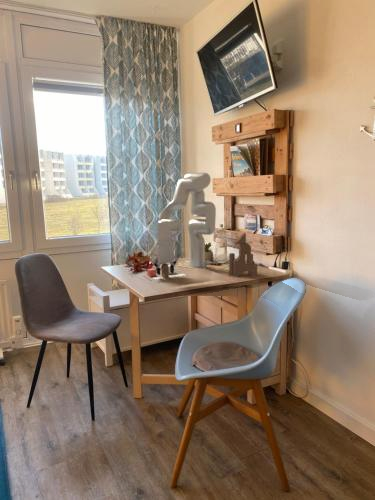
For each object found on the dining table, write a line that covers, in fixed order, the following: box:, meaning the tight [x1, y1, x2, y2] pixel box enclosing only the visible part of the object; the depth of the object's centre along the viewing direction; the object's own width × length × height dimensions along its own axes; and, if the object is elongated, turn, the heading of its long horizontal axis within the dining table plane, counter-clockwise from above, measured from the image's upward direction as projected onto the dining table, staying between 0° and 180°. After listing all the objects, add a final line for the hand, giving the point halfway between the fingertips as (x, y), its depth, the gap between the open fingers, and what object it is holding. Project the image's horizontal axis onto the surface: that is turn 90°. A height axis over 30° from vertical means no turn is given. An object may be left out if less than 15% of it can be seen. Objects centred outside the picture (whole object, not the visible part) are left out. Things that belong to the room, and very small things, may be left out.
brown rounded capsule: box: [160, 263, 170, 279], centre depth 214 cm, size 4×4×8 cm
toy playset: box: [123, 251, 164, 273], centre depth 242 cm, size 35×26×14 cm
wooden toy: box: [228, 232, 258, 277], centre depth 221 cm, size 16×7×25 cm, turn 101°
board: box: [142, 267, 186, 282], centre depth 218 cm, size 23×14×5 cm, turn 117°
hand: (165, 273), depth 214 cm, fingers open, 7 cm apart
